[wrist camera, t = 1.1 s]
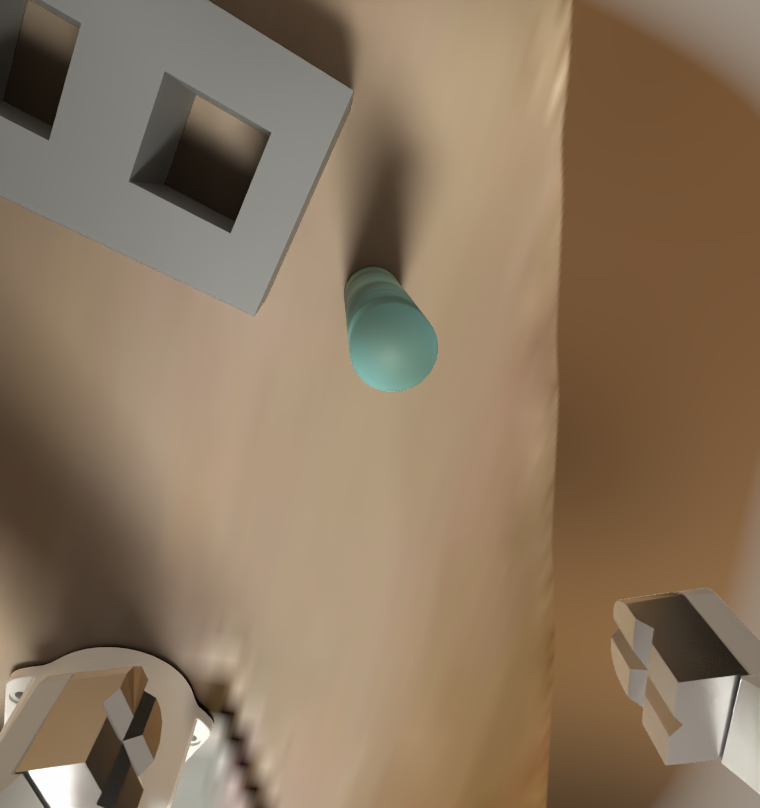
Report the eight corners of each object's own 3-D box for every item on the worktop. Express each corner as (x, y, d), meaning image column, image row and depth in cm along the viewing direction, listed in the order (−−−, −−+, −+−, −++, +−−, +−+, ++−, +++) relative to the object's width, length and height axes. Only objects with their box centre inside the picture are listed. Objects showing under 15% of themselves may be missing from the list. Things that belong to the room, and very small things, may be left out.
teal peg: (384, 332, 37) (411, 405, 24) (334, 307, 36) (334, 369, 23) (410, 282, 36) (454, 331, 23) (360, 256, 35) (375, 289, 22)
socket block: (266, 298, 35) (253, 316, 30) (-64, 136, 30) (-155, 122, 24) (350, 109, 31) (353, 90, 26) (-13, -112, 26) (-107, -196, 21)
